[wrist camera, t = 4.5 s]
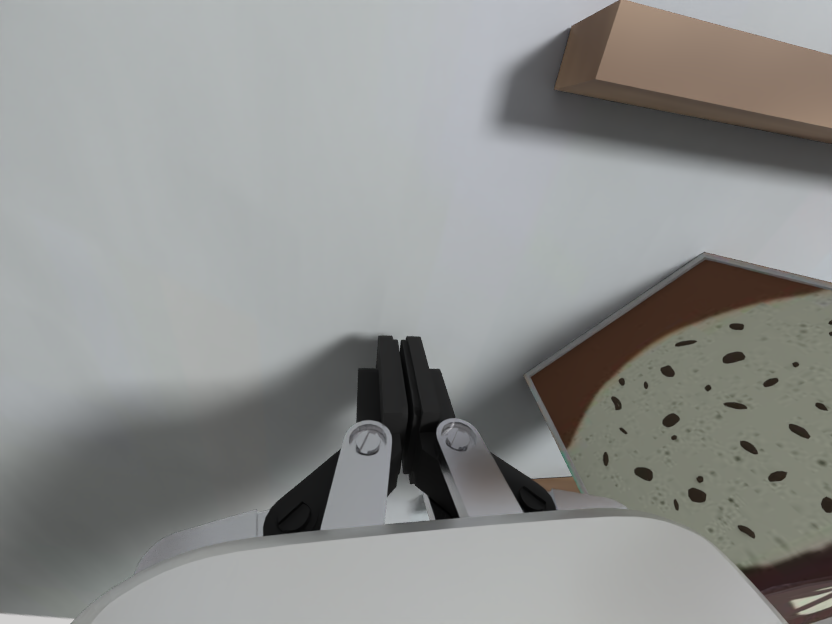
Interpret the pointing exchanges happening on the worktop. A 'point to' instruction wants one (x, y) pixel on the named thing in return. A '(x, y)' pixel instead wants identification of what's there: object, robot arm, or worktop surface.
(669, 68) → the guide track
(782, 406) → the food container
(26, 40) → the worktop surface
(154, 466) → the worktop surface
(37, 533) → the worktop surface
